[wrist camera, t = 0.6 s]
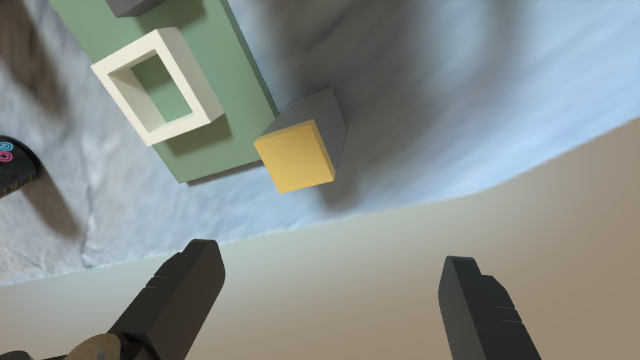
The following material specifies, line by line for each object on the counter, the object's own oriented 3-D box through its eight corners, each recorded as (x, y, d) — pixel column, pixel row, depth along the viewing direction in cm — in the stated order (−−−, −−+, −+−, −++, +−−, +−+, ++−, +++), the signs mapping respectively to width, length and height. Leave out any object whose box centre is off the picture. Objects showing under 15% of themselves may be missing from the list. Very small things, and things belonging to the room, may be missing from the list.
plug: (332, 86, 24) (310, 124, 17) (347, 128, 26) (333, 180, 19) (290, 101, 26) (253, 143, 18) (307, 140, 27) (280, 193, 20)
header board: (153, -157, 18) (93, -199, 14) (294, 145, 28) (280, 168, 24) (28, -48, 23) (-42, -58, 19) (185, 178, 33) (159, 201, 29)
